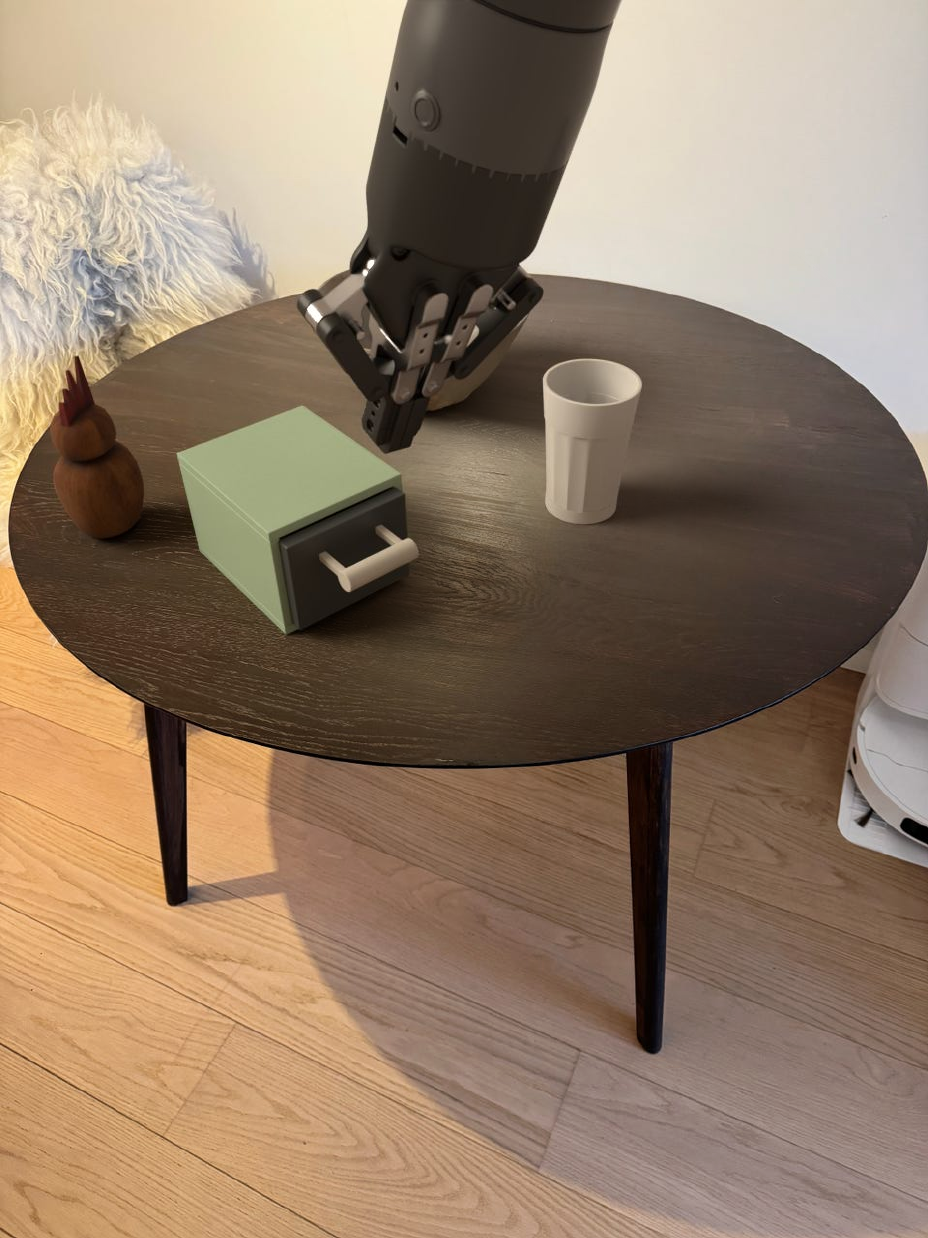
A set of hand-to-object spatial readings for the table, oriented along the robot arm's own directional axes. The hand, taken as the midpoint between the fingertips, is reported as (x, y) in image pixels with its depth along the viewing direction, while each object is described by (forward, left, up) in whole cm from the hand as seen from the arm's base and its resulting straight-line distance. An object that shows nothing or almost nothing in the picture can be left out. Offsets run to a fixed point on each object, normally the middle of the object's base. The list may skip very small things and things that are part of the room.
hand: (386, 440), depth 49 cm
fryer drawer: (-4, +16, -22) cm, 27 cm away
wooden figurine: (-22, +27, -23) cm, 42 cm away
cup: (+19, +23, -23) cm, 38 cm away
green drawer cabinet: (-6, +19, -23) cm, 30 cm away
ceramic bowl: (+8, +47, -23) cm, 52 cm away
